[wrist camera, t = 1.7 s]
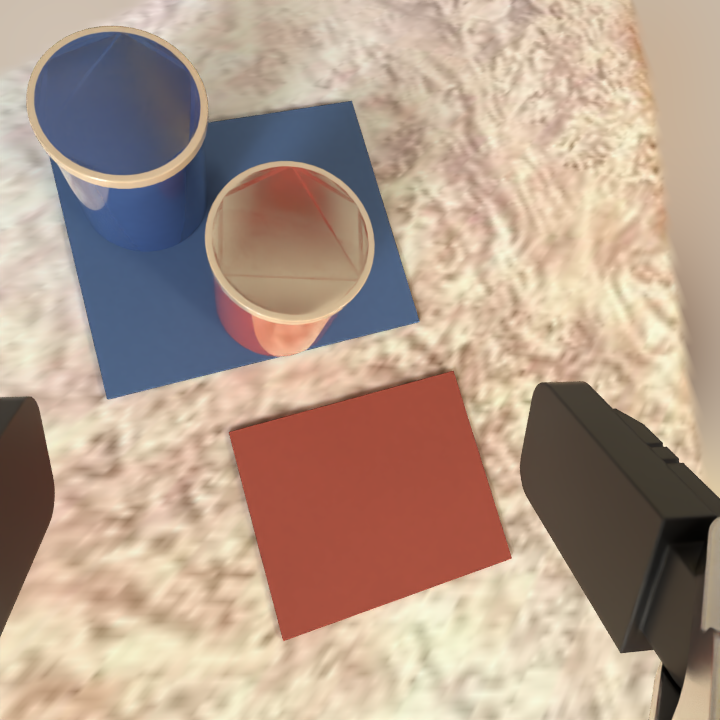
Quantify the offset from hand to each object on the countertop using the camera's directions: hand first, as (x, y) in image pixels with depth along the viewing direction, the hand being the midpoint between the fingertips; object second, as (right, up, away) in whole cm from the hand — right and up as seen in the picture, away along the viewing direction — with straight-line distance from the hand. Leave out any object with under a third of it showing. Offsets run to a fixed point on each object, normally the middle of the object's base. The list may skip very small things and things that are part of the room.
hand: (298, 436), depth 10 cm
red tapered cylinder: (-3, +4, +22) cm, 23 cm away
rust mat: (+2, -6, +21) cm, 22 cm away
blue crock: (-10, +10, +22) cm, 25 cm away
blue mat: (-5, +8, +22) cm, 24 cm away
